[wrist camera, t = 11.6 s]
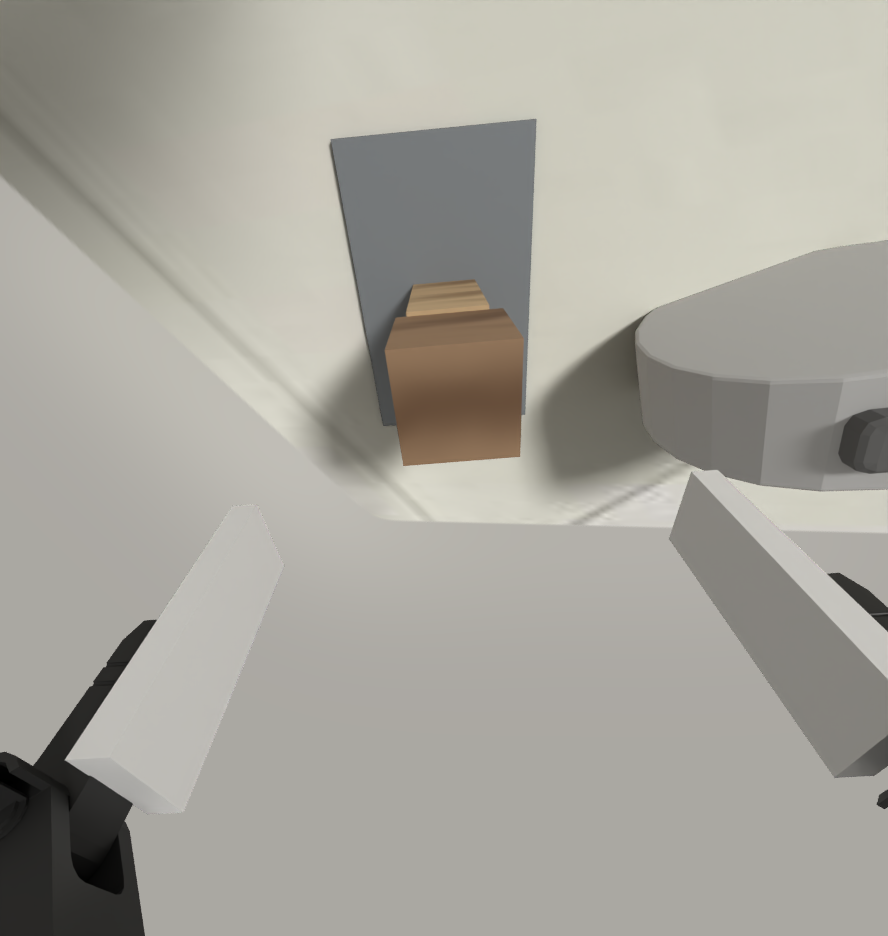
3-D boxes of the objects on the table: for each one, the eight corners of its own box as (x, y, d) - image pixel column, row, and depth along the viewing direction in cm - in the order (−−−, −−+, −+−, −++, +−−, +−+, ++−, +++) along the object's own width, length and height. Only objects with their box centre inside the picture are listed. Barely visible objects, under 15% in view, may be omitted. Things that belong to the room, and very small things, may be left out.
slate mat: (331, 140, 27) (330, 139, 27) (535, 119, 27) (536, 119, 27) (383, 424, 39) (383, 425, 39) (524, 412, 39) (525, 414, 39)
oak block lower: (413, 284, 32) (410, 296, 28) (474, 279, 32) (480, 290, 28) (422, 368, 36) (421, 389, 32) (477, 363, 36) (483, 384, 32)
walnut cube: (395, 317, 24) (384, 350, 18) (503, 307, 24) (523, 337, 18) (409, 414, 27) (403, 465, 22) (502, 407, 27) (519, 456, 22)
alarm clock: (614, 400, 39) (749, 545, 22) (603, 326, 35) (758, 435, 18) (857, 321, 35) (1239, 423, 18) (877, 228, 31) (1384, 252, 14)
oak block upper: (410, 296, 28) (406, 312, 24) (480, 290, 28) (489, 304, 24) (421, 389, 32) (419, 417, 28) (483, 384, 32) (490, 411, 27)
